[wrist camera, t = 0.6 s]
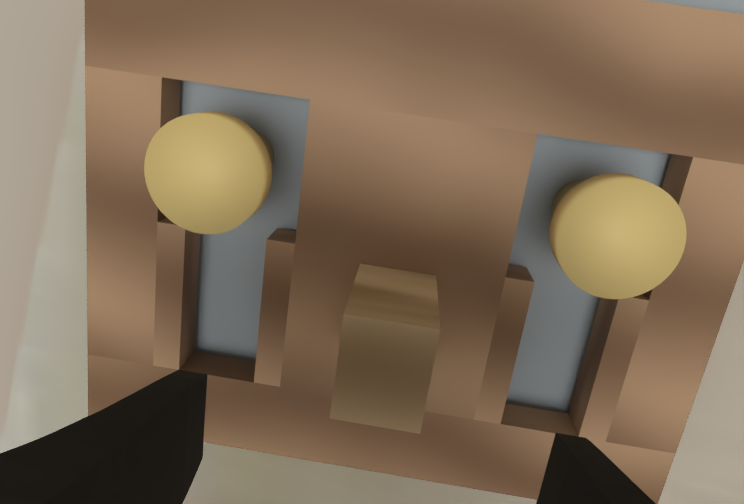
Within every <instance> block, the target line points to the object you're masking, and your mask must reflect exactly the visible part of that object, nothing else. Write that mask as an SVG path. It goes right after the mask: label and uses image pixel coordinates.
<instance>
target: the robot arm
mask: <svg viewBox="0 0 744 504" xmlns="http://www.w3.org/2000/svg"><path fill="white" fill-rule="evenodd" d="M207 375H208V374H202V373H196V372H190V371H184V370H177V371H175V372H173V373H171V374H169V375H167V376H165V377H163V378H161V379H159V380H157V381H155V382H153V383H151V384H150V385H148V386H146V387H144V388H142V389H140V390H138V391H137V392H135V393H133V394H131V395H129V396H127V397H125V398H123V399H121V400H119V401H118V402H116V403H114V404H112V405H110V406H108V407H106V408H104V409H102V410H100V411H98V412H96V413H94V414H92V415H90V416H88V417H85V418H83V419H81V420H79V421H77V422H75V423H73V424H71V425H68V426H66V427H64V428H62V429H60V430H58V431H56V432H54V433H51V434H49V435H47V436H44V437H42V438H40V439H37V440H35V441H32V442H30V443H27V444H25V445H22V446H19V447H17V448H14V449H11V450H9V451H6V452H3V453H1V454H0V504H182V503H183V501H184V499H185V497H186V495H187V492H188V490H189V488H190V486H191V484H192V481H193V479H194V477H195V474H196V472H197V470H198V467H199V465H200V463H201V460H202V456H203V440H204V424H205V407H206V391H207ZM536 504H656V503H655V502H654V501H653V500H651V499H650V498H649V497H648V496H647V495H646V494H645V493H644V492H643V491H642V490H641V489H640V488H639V487H638V486H637V485H636V484H635V483H634V482H633V481H632V480H631V479H630V478H629V477H628V476H626V475H625V474H624V473H623V472H622V471H621V470H620V469H619V468H618V467H617V466H616V465H615V464H614V463H613V462H612V461H611V460H610V459H609V458H608V457H607V456H606V455H605V454H604V453H603V452H602V451H601V450H600V449H598V448H597V447H596V446H595V445H594V444H593V443H592V442H591V441H589V440H588V439H587V438H584V437H578V436H572V435H566V434H561V433H556V434H555V437H554V441H553V445H552V448H551V452H550V456H549V459H548V463H547V467H546V470H545V474H544V478H543V481H542V485H541V489H540V492H539V496H538V500H537V503H536Z"/></svg>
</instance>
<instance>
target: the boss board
mask: <svg viewBox="0 0 744 504" xmlns="http://www.w3.org/2000/svg"><path fill="white" fill-rule="evenodd" d="M647 1H654V2H661V3H668V4H675V5H682V6H689V7H696V8H703V9H710V10H717V11H724V12H732V13H739V14H744V0H647ZM309 105H310V99H303V98H297V97H290V96H283V95H277V94H270V93H264V92H257V91H250V90H244V89H237V88H230V87H224V86H217V85H210V84H204V83H197V82H190V81H184V80H181V85H180V110H179V117H177V118H175V119H173V120H171V121H169V122H168V123H166V124H165V125H164V126H162V127H161V128H160V129H159V130H158V131H157V133H156V134H155V135H154V137H153V138H152V140H151V142H150V144H149V146H148V149H147V151H146V156H145V162H144V175H145V181H146V185H147V188H148V191H149V193H150V196H151V198H152V199H153V201H154V203H155V205H156V206H157V207H158V209H159V210H160V211H161V212H162V213H163V214H164V215H165V216H166V217H167V218H168V219H169V220H170V221H172V222H173V223H175V224H176V225H178V226H180V227H182V228H184V229H186V230H188V231H191V232H195V233H199V234H201V235H200V254H199V273H198V292H197V311H196V329H195V348H194V351H196V352H202V353H208V354H214V355H220V356H226V357H232V358H238V359H244V360H250V361H256V352H257V341H258V330H259V319H260V307H261V296H262V285H263V274H264V263H265V251H266V240H267V238H268V237H269V236H270V235H271V234H272V233H273V232H274V231H275V230H276V229H277V228H280V229H286V230H292V231H296V229H297V219H298V210H299V200H300V190H301V181H302V171H303V162H304V152H305V143H306V133H307V124H308V114H309ZM671 155H672V154H669V153H663V152H656V151H649V150H643V149H636V148H629V147H623V146H616V145H609V144H603V143H596V142H589V141H583V140H576V139H569V138H563V137H556V136H550V135H543V134H538V135H537V140H536V144H535V149H534V153H533V157H532V162H531V166H530V171H529V175H528V180H527V184H526V189H525V193H524V198H523V202H522V206H521V211H520V215H519V220H518V224H517V229H516V233H515V238H514V242H513V247H512V251H511V256H510V260H509V264H508V265H513V266H519V267H525V268H527V269H528V271H529V273H530V275H531V276H532V278H533V280H534V282H535V283H534V287H533V291H532V296H531V300H530V304H529V308H528V312H527V316H526V320H525V325H524V329H523V333H522V337H521V341H520V345H519V349H518V354H517V358H516V362H515V366H514V370H513V374H512V378H511V383H510V387H509V391H508V395H507V399H506V403H507V404H513V405H519V406H525V407H531V408H537V409H543V410H549V411H555V412H561V413H567V414H568V413H569V409H570V405H571V402H572V398H573V395H574V391H575V388H576V384H577V380H578V377H579V373H580V370H581V366H582V363H583V359H584V355H585V352H586V348H587V345H588V341H589V338H590V334H591V330H592V327H593V323H594V320H595V316H596V313H597V309H598V306H599V302H600V298H606V299H625V298H631V297H635V296H638V295H641V294H643V293H646V292H648V291H650V290H652V289H653V288H655V287H656V286H658V285H659V284H661V283H662V282H663V281H664V280H665V279H666V278H667V277H668V276H669V275H670V274H671V273H672V272H673V270H674V269H675V268H676V266H677V265H678V263H679V261H680V259H681V257H682V254H683V252H684V248H685V244H686V236H687V233H686V223H685V219H684V216H683V213H682V211H681V209H680V207H679V205H678V204H677V202H676V201H675V200H674V199H673V198H672V197H671V196H670V195H669V194H668V193H667V192H666V191H664V190H663V189H662V185H663V182H664V179H665V175H666V172H667V168H668V165H669V162H670V158H671Z"/></svg>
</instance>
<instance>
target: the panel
mask: <svg viewBox="0 0 744 504" xmlns="http://www.w3.org/2000/svg"><path fill="white" fill-rule="evenodd" d="M181 80H184V81H190V82H197V83H204V84H210V85H217V86H224V87H230V88H237V89H244V90H250V91H257V92H264V93H270V94H277V95H283V96H290V97H297V98H303V99H310V105H309V114H308V124H307V133H306V143H305V152H304V162H303V171H302V181H301V190H300V200H299V210H298V219H297V229H296V231H292V230H286V229H280V228H277V229H276V230H275V231H274V232H273V233H272V234H271V235H270V236H269V237H268V238H267V240H266V251H265V263H264V274H263V285H262V296H261V307H260V319H259V330H258V341H257V352H256V361H250V360H244V359H238V358H232V357H226V356H220V355H214V354H208V353H202V352H196V351H194V348H195V329H196V311H197V292H198V273H199V254H200V235H201V234H199V233H195V232H191V231H188V230H186V229H184V228H182V227H180V226H178V225H176V224H175V223H173V222H172V221H170V220H169V219H168V218H167V217H166V216H165V215H164V214H163V213H162V212H161V211H160V210H159V209H158V207H157V206H156V205H155V203H154V201H153V199H152V198H151V196H150V193H149V191H148V188H147V185H146V181H145V175H144V162H145V156H146V151H147V149H148V146H149V144H150V142H151V140H152V138H153V137H154V135H155V134H156V133H157V131H158V130H159V129H160V128H161V127H162V126H164V125H165V124H166V123H168V122H169V121H171V120H173V119H175V118H177V117H179V110H180V85H181ZM85 85H86V203H87V320H88V416H90V415H92V414H94V413H96V412H98V411H100V410H102V409H104V408H106V407H108V406H110V405H112V404H114V403H116V402H118V401H119V400H121V399H123V398H125V397H127V396H129V395H131V394H133V393H135V392H137V391H138V390H140V389H142V388H144V387H146V386H148V385H150V384H151V383H153V382H155V381H157V380H159V379H161V378H163V377H165V376H167V375H169V374H171V373H173V372H175V371H177V370H184V371H190V372H196V373H202V374H208V375H207V391H206V407H205V424H204V440H203V442H207V443H213V444H218V445H224V446H230V447H236V448H242V449H247V450H253V451H259V452H265V453H270V454H276V455H282V456H288V457H294V458H299V459H305V460H311V461H317V462H323V463H328V464H334V465H340V466H346V467H351V468H357V469H363V470H369V471H375V472H380V473H386V474H392V475H398V476H403V477H409V478H415V479H421V480H427V481H432V482H438V483H444V484H450V485H455V486H461V487H467V488H473V489H479V490H484V491H490V492H496V493H502V494H507V495H513V496H519V497H525V498H531V499H536V500H538V496H539V492H540V489H541V485H542V481H543V478H544V474H545V470H546V467H547V463H548V459H549V456H550V452H551V448H552V445H553V441H554V437H555V434H556V433H561V434H566V435H572V436H578V437H584V438H587V439H588V440H589V441H591V442H592V443H593V444H594V445H595V446H596V447H597V448H598V449H600V450H601V451H602V452H603V453H604V454H605V455H606V456H607V457H608V458H609V459H610V460H611V461H612V462H613V463H614V464H615V465H616V466H617V467H618V468H619V469H620V470H621V471H622V472H623V473H624V474H625V475H626V476H628V477H629V478H630V479H631V480H632V481H633V482H634V483H635V484H636V485H637V486H638V487H639V488H640V489H641V490H642V491H643V492H644V493H645V494H646V495H647V496H648V497H649V498H650V499H651V500H653V501H654V502H655V503H656V504H658V501H659V499H660V496H661V493H662V490H663V487H664V484H665V482H666V479H667V476H668V473H669V470H670V467H671V465H672V462H673V459H674V456H675V453H676V450H677V448H678V445H679V442H680V439H681V436H682V433H683V431H684V428H685V425H686V422H687V419H688V416H689V414H690V411H691V408H692V405H693V402H694V399H695V397H696V394H697V391H698V388H699V385H700V382H701V380H702V377H703V374H704V371H705V368H706V366H707V363H708V360H709V357H710V354H711V351H712V349H713V346H714V343H715V340H716V337H717V334H718V332H719V329H720V326H721V323H722V320H723V317H724V315H725V312H726V309H727V306H728V303H729V300H730V298H731V295H732V292H733V289H734V286H735V283H736V281H737V278H738V275H739V272H740V269H741V266H742V264H743V261H744V14H739V13H732V12H724V11H717V10H710V9H703V8H696V7H689V6H682V5H675V4H668V3H661V2H654V1H647V0H85ZM538 134H543V135H550V136H556V137H563V138H569V139H576V140H583V141H589V142H596V143H603V144H609V145H616V146H623V147H629V148H636V149H643V150H649V151H656V152H663V153H669V154H672V155H671V158H670V162H669V165H668V168H667V172H666V175H665V179H664V182H663V185H662V189H663V190H664V191H666V192H667V193H668V194H669V195H670V196H671V197H672V198H673V199H674V200H675V201H676V202H677V204H678V205H679V207H680V209H681V211H682V213H683V216H684V219H685V223H686V233H687V236H686V244H685V248H684V252H683V254H682V257H681V259H680V261H679V263H678V265H677V266H676V268H675V269H674V270H673V272H672V273H671V274H670V275H669V276H668V277H667V278H666V279H665V280H664V281H663V282H662V283H661V284H659V285H658V286H656V287H655V288H653V289H652V290H650V291H648V292H646V293H643V294H641V295H638V296H635V297H631V298H625V299H606V298H600V302H599V306H598V309H597V313H596V316H595V320H594V323H593V327H592V330H591V334H590V338H589V341H588V345H587V348H586V352H585V355H584V359H583V363H582V366H581V370H580V373H579V377H578V380H577V384H576V388H575V391H574V395H573V398H572V402H571V405H570V409H569V413H568V414H567V413H561V412H555V411H549V410H543V409H537V408H531V407H525V406H519V405H513V404H507V403H506V399H507V395H508V391H509V387H510V383H511V378H512V374H513V370H514V366H515V362H516V358H517V354H518V349H519V345H520V341H521V337H522V333H523V329H524V325H525V320H526V316H527V312H528V308H529V304H530V300H531V296H532V291H533V287H534V283H535V282H534V280H533V278H532V276H531V275H530V273H529V271H528V269H527V268H525V267H519V266H513V265H508V264H509V260H510V256H511V251H512V247H513V242H514V238H515V233H516V229H517V224H518V220H519V215H520V211H521V206H522V202H523V198H524V193H525V189H526V184H527V180H528V175H529V171H530V166H531V162H532V157H533V153H534V149H535V144H536V140H537V135H538Z"/></svg>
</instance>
